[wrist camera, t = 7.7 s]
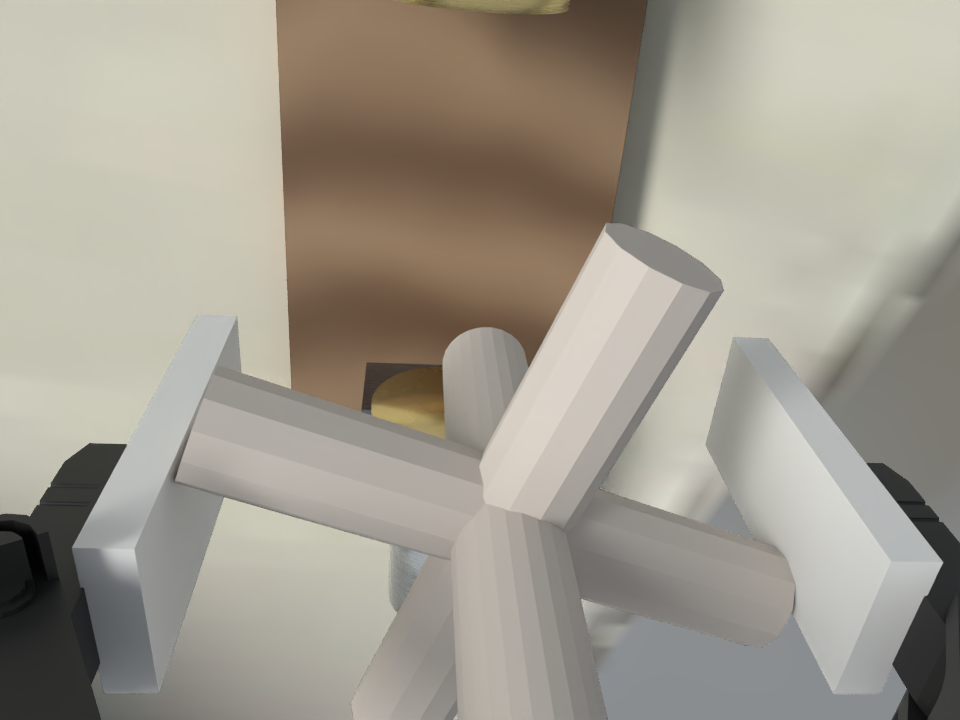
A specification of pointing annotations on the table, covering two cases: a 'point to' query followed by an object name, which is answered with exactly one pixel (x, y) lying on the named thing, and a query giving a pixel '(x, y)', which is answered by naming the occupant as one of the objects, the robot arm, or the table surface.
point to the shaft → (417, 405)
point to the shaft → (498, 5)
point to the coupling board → (441, 173)
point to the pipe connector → (509, 498)
